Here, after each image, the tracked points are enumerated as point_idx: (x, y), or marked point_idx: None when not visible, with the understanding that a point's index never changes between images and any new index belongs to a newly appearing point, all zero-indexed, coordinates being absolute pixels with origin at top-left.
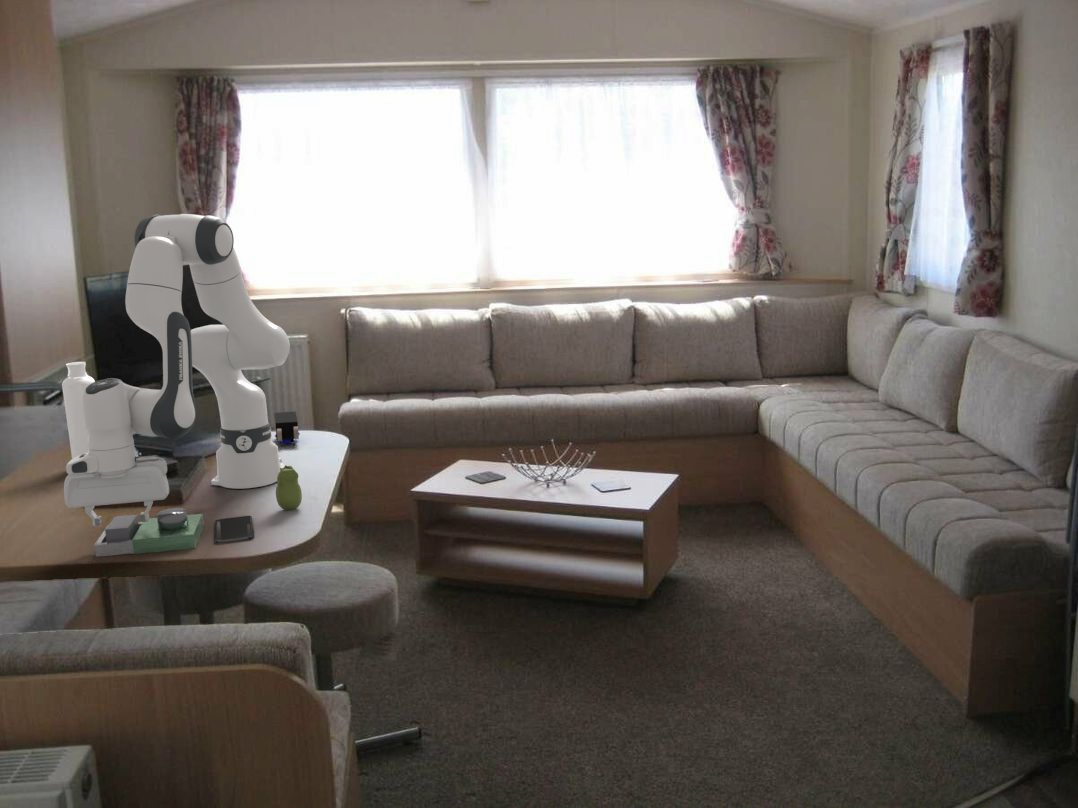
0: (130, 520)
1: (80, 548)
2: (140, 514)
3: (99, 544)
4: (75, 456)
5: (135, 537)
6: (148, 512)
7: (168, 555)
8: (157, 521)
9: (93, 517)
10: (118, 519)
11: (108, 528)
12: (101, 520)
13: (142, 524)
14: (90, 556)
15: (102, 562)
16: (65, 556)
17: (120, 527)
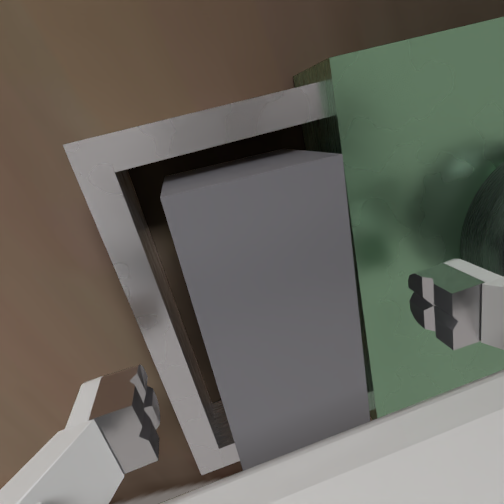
0: (338, 299)
1: (36, 342)
2: (458, 347)
3: (225, 465)
4: None
5: (383, 398)
6: (495, 276)
7: None
8: (433, 134)
9: (110, 490)
10: (236, 283)
11: (255, 451)
12: (135, 377)
13: (356, 196)
14: (167, 423)
15: None
16: (35, 440)
17: (324, 425)
